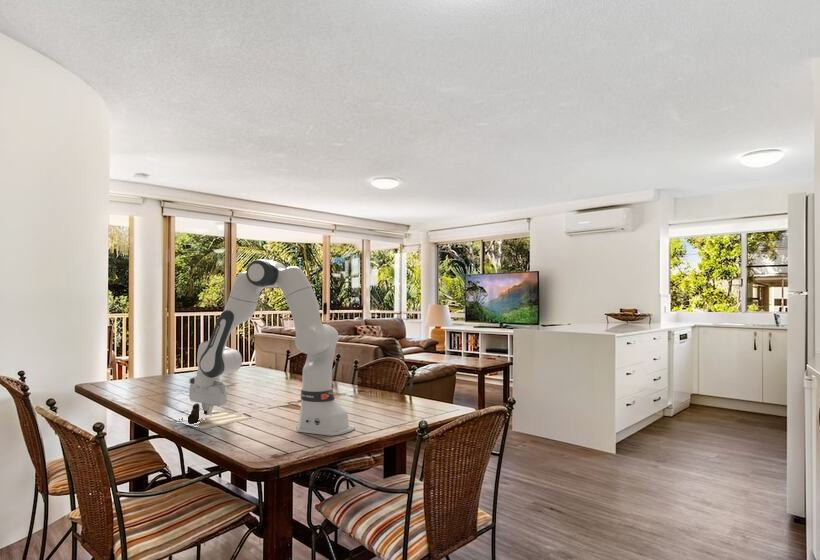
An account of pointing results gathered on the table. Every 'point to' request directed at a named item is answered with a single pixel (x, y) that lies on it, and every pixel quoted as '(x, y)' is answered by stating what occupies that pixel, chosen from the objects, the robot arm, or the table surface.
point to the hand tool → (194, 414)
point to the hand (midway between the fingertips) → (207, 414)
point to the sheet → (219, 419)
